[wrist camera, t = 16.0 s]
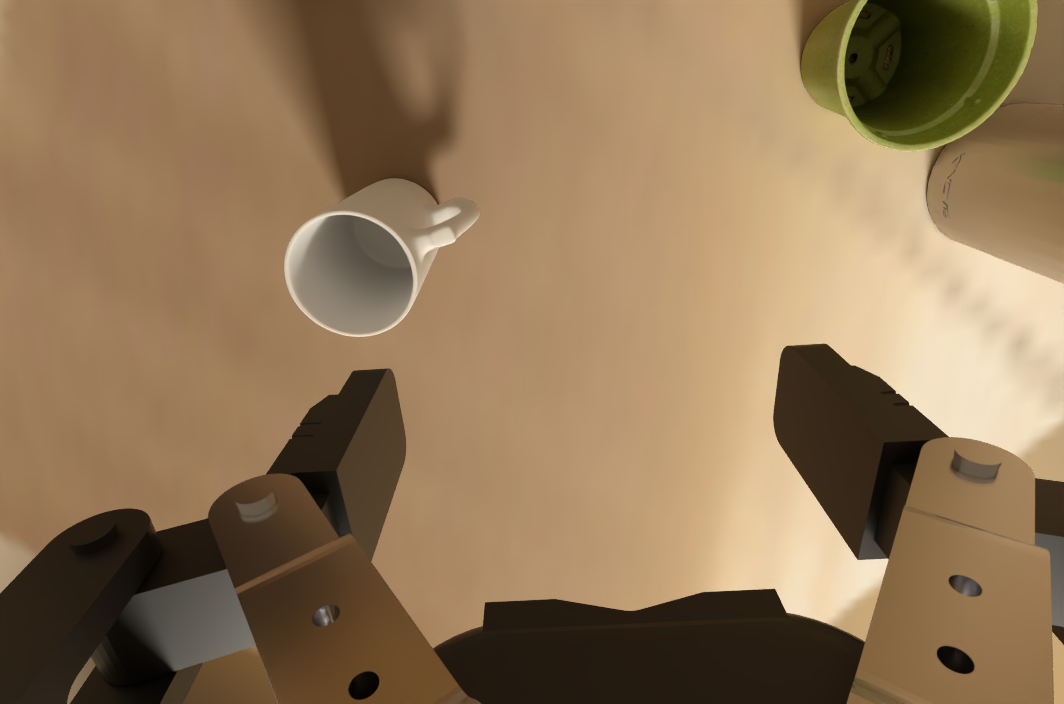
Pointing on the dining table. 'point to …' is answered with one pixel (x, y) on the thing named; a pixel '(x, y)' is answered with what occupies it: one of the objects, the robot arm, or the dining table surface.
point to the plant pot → (918, 66)
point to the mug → (371, 255)
